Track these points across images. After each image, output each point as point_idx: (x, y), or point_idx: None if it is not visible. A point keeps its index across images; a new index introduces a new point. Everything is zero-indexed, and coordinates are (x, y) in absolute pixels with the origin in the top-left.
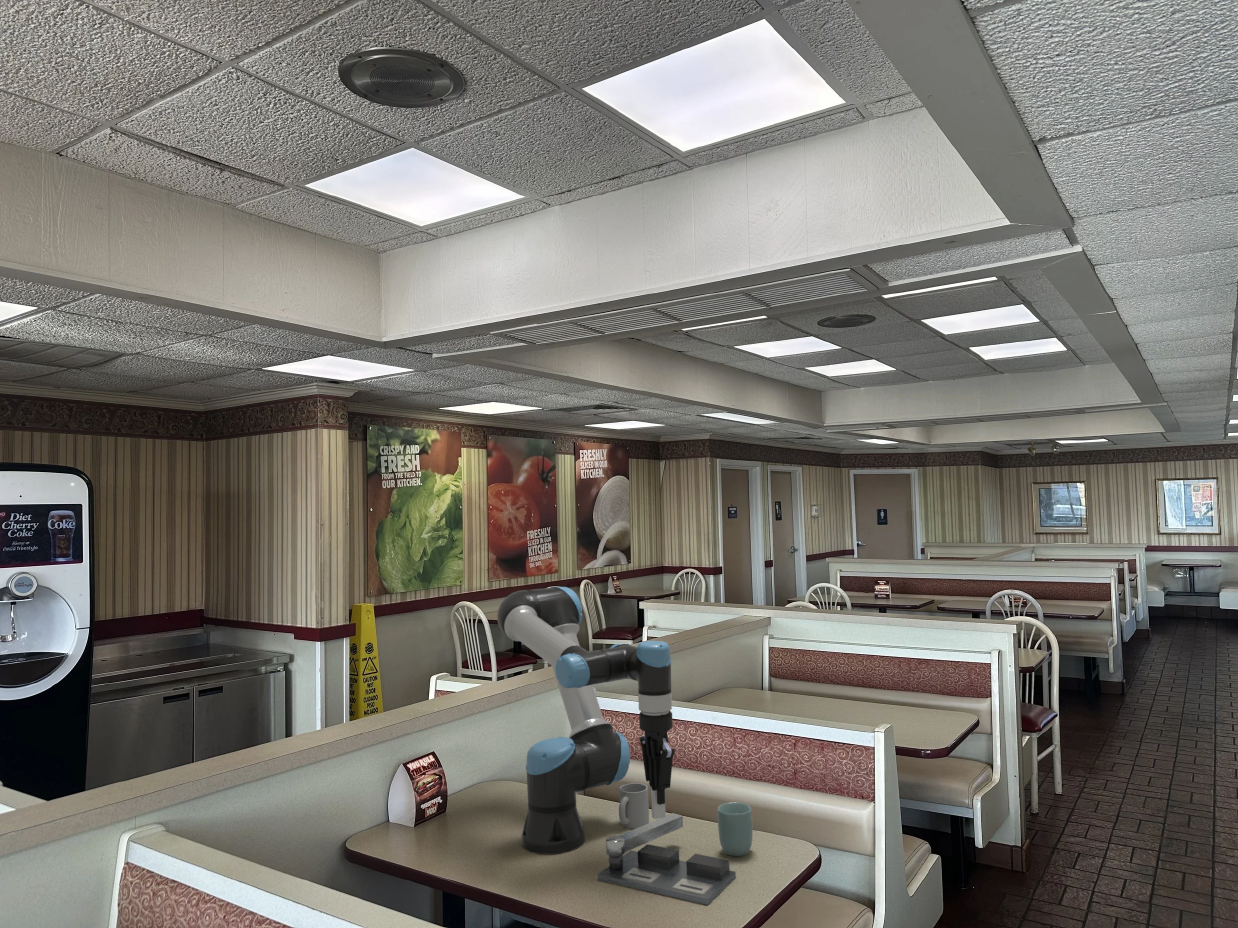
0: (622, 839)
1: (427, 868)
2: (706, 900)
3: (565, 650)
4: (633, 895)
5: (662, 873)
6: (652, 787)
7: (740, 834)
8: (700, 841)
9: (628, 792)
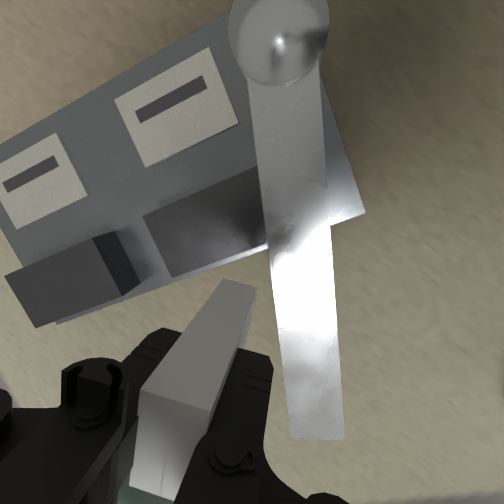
0: (248, 60)
1: None
2: None
3: None
4: (122, 30)
5: (152, 175)
6: (109, 386)
7: None
8: (285, 411)
9: None
